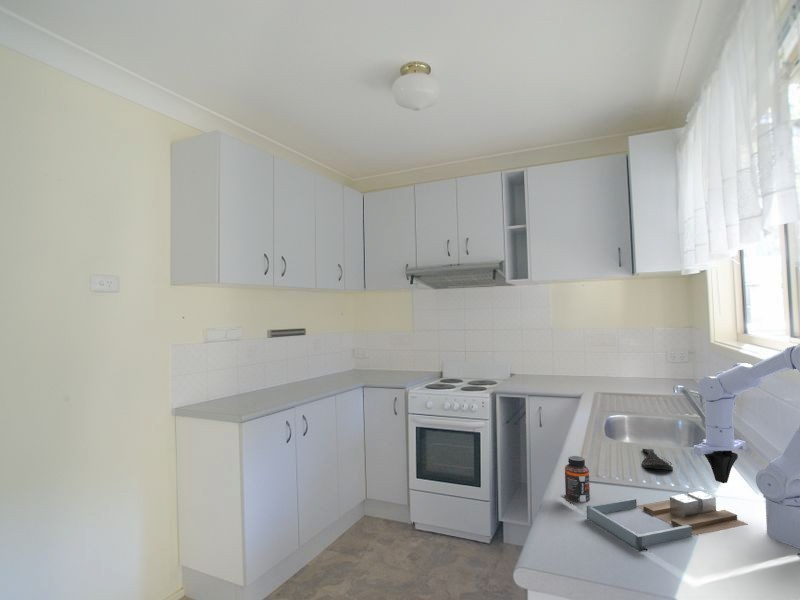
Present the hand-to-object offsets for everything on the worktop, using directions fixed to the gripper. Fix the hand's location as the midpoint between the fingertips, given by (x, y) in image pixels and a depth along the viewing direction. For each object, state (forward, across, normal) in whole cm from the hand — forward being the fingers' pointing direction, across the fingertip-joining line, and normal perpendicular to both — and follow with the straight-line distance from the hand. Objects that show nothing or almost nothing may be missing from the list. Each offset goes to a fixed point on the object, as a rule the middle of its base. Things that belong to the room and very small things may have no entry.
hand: (721, 481), depth 112 cm
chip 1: (+6, +12, 0) cm, 14 cm away
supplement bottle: (+8, +28, -17) cm, 34 cm away
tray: (+7, +26, 0) cm, 27 cm away
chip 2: (+6, +6, 0) cm, 9 cm away
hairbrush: (+8, -15, -35) cm, 39 cm away
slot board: (+7, +10, 0) cm, 13 cm away
